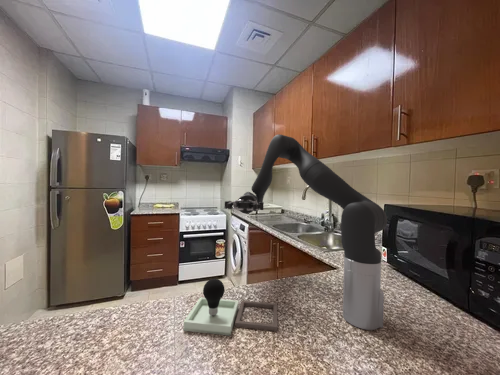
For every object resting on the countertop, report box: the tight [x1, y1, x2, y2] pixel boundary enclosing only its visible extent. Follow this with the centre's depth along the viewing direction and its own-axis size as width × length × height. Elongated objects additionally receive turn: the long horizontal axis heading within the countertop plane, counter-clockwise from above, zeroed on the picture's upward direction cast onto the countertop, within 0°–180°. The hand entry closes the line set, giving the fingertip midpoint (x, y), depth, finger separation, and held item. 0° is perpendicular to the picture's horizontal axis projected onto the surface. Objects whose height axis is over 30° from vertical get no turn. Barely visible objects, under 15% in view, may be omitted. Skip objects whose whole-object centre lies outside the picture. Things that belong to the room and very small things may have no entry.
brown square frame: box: [234, 300, 278, 332], centre depth 59 cm, size 11×11×1 cm
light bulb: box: [202, 278, 225, 316], centre depth 58 cm, size 6×6×10 cm
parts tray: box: [183, 296, 240, 336], centre depth 57 cm, size 12×12×2 cm
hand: (241, 206), depth 70 cm, fingers open, 8 cm apart
